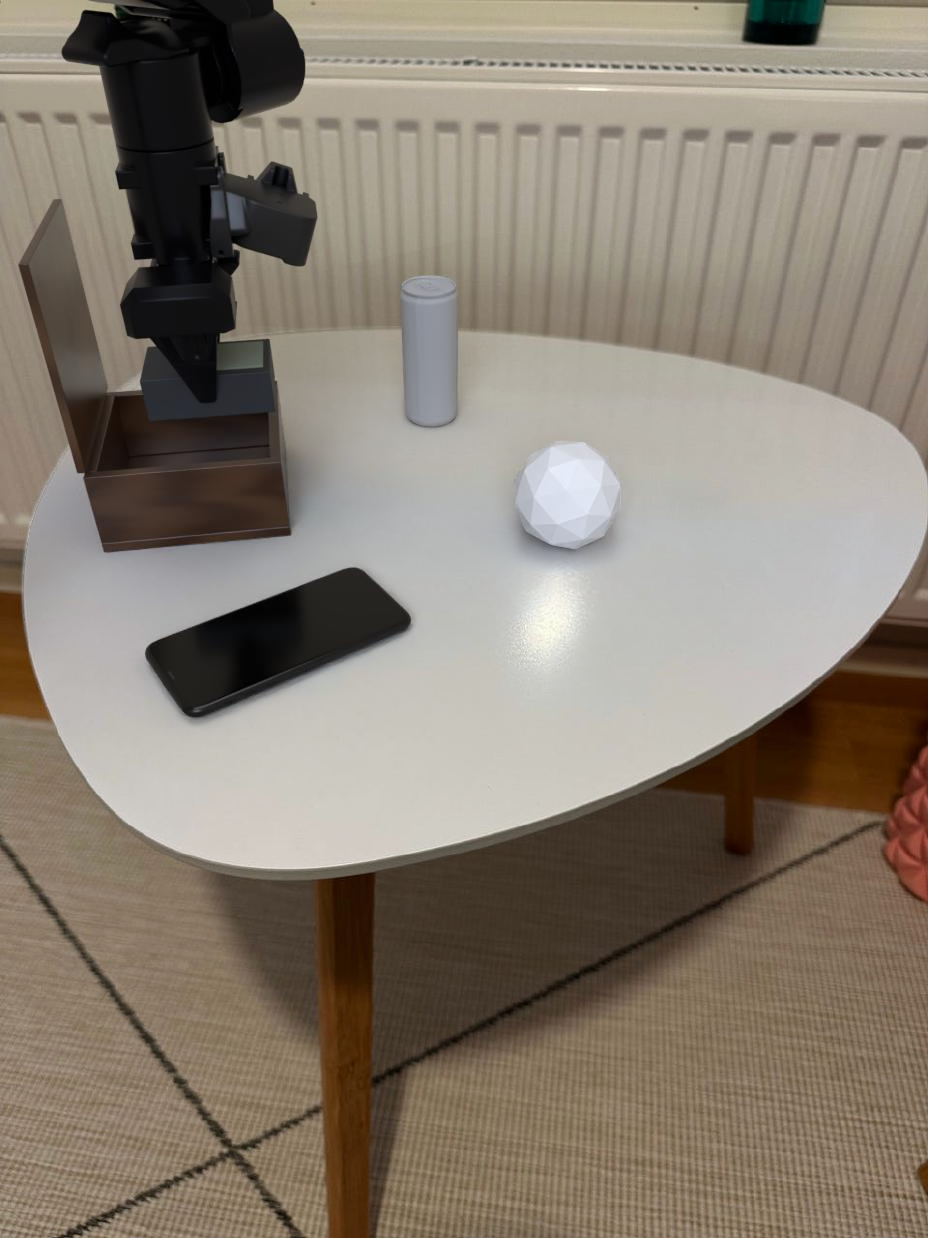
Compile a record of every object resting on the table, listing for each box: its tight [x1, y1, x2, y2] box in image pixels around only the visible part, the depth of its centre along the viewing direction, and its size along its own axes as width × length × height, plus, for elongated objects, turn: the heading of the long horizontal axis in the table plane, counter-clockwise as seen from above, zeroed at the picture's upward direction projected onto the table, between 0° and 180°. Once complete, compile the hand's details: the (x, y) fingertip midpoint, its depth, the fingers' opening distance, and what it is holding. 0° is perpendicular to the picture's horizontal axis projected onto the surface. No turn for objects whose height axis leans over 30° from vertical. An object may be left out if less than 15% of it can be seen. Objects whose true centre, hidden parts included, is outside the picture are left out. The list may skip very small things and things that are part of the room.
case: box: [82, 379, 292, 553], centre depth 76 cm, size 14×14×6 cm
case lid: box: [18, 198, 109, 475], centre depth 68 cm, size 14×14×1 cm
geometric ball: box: [514, 439, 622, 550], centre depth 71 cm, size 8×8×8 cm
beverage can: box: [399, 274, 459, 428], centre depth 85 cm, size 5×5×12 cm
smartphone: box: [144, 566, 412, 719], centre depth 63 cm, size 8×1×16 cm
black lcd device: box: [139, 338, 276, 422], centre depth 68 cm, size 8×6×3 cm, turn 99°
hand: (209, 382), depth 68 cm, fingers closed on black lcd device, 5 cm apart
